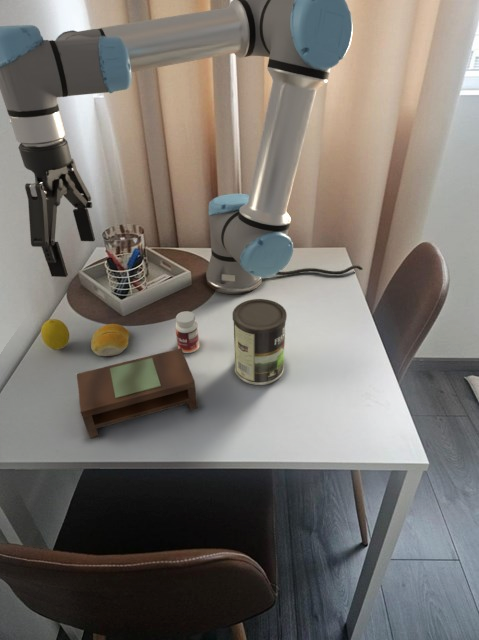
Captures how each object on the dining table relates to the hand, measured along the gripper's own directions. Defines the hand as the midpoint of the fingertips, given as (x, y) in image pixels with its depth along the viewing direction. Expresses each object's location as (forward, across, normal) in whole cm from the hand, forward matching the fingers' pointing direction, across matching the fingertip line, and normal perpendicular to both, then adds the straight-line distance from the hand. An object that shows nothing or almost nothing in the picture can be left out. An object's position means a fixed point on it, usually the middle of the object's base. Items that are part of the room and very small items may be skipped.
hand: (74, 257), depth 84 cm
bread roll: (+24, -2, +2) cm, 24 cm away
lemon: (+24, 0, -9) cm, 25 cm away
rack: (+23, +15, +13) cm, 31 cm away
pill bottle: (+24, -3, +19) cm, 31 cm away
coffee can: (+24, +3, +35) cm, 43 cm away
